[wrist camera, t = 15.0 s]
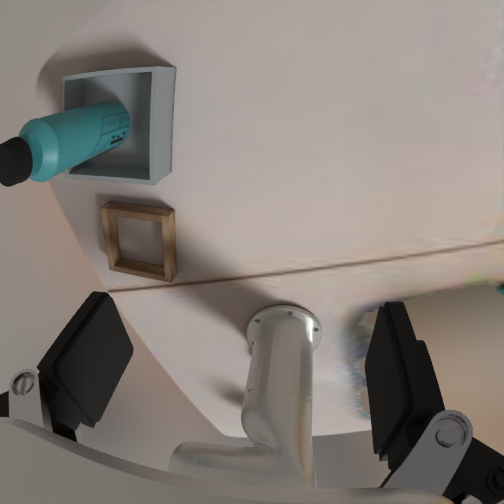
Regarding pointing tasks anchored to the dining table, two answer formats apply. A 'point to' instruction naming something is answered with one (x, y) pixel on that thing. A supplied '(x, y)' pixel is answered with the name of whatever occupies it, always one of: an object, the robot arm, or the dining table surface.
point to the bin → (142, 122)
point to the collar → (144, 213)
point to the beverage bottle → (62, 142)
